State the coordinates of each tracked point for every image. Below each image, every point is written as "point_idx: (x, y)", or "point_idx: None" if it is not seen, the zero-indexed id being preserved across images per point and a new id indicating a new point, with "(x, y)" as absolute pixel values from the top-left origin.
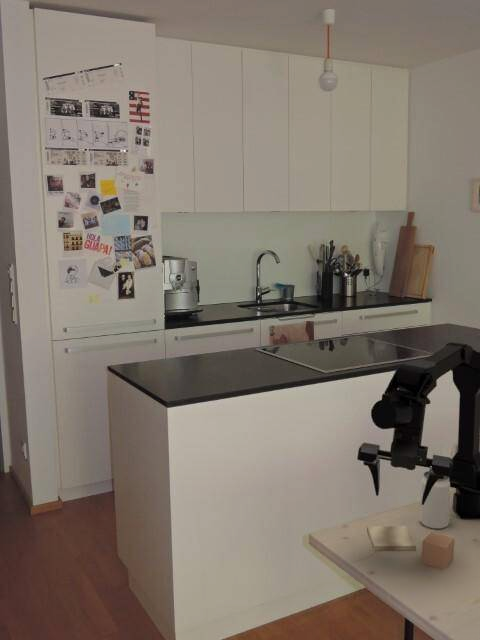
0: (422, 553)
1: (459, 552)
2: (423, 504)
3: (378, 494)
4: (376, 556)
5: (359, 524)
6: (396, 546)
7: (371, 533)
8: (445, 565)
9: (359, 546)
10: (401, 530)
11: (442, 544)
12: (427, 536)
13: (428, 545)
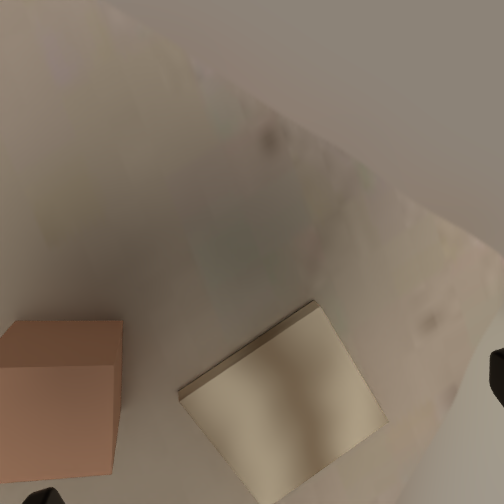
0: (118, 337)
1: None
2: (31, 494)
3: (493, 383)
4: (292, 264)
5: (415, 434)
6: (245, 355)
7: (359, 385)
8: (8, 330)
9: (369, 295)
10: (269, 472)
11: (8, 392)
12: (109, 420)
13: (82, 359)
